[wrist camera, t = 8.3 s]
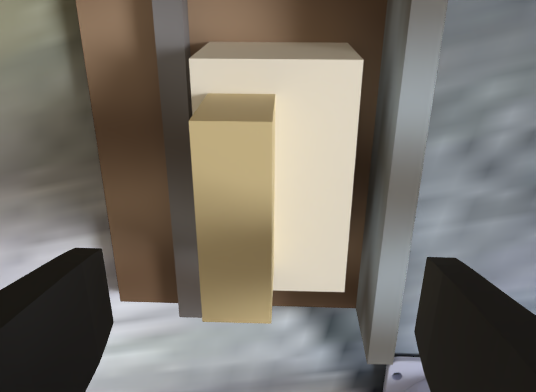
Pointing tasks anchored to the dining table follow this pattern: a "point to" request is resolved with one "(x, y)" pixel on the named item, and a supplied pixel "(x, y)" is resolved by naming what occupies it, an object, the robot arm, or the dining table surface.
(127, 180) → the grey brown open tray
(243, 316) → the large cream box
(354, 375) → the dining table surface
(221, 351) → the dining table surface
